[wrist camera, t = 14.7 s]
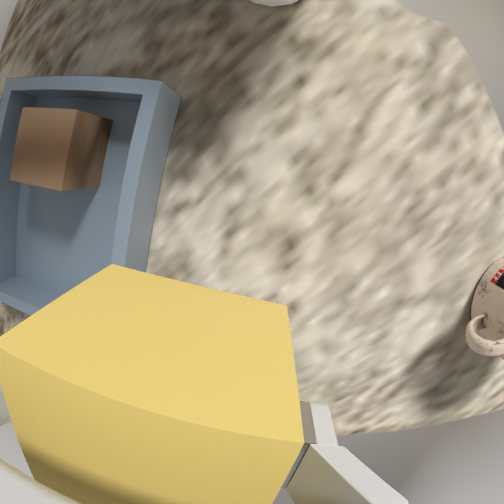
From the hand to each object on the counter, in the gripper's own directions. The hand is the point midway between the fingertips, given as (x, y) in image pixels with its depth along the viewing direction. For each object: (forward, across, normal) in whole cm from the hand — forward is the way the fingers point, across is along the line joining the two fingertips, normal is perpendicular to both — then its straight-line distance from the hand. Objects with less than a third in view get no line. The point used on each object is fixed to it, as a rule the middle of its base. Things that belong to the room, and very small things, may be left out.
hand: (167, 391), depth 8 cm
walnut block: (+15, +13, -5) cm, 21 cm away
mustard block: (+2, 0, 0) cm, 2 cm away
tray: (+16, +13, -1) cm, 21 cm away
